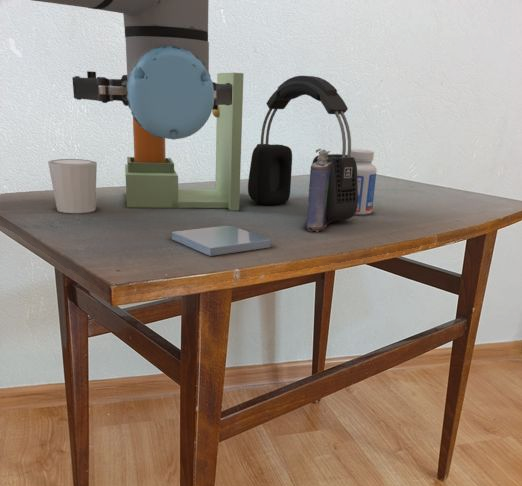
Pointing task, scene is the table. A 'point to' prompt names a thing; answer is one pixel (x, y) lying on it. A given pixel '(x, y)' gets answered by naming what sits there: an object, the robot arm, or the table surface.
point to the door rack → (166, 179)
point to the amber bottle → (147, 146)
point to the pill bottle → (365, 180)
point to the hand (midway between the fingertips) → (151, 90)
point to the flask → (318, 192)
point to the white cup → (74, 184)
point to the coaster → (220, 240)
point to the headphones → (343, 166)
